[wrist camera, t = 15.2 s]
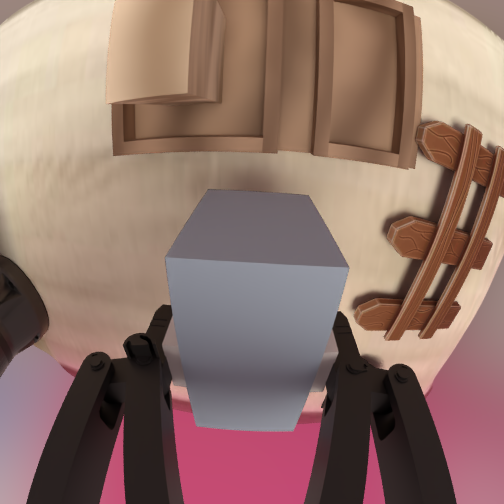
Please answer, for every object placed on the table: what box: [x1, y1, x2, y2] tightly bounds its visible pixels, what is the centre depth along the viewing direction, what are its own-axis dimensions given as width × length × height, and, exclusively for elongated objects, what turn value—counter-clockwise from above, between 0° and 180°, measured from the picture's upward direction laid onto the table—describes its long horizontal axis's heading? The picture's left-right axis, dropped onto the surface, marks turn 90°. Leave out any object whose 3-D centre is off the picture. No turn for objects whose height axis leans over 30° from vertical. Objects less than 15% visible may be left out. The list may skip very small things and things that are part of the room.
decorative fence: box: [354, 121, 504, 341], centre depth 21 cm, size 23×2×15 cm
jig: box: [112, 0, 423, 170], centre depth 15 cm, size 24×14×3 cm, turn 88°
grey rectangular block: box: [165, 189, 349, 431], centre depth 13 cm, size 5×10×7 cm, turn 177°
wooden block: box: [106, 0, 226, 106], centre depth 12 cm, size 4×7×9 cm, turn 178°
